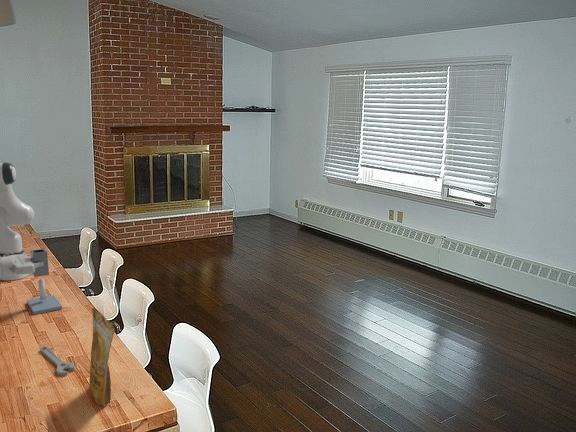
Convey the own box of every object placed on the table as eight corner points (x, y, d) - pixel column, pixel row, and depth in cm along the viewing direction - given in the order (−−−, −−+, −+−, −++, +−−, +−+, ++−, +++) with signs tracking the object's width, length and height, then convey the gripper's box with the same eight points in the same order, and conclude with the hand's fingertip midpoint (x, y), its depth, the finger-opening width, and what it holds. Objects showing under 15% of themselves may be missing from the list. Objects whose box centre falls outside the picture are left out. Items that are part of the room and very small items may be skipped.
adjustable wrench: (39, 351, 210) (38, 347, 210) (56, 347, 214) (56, 342, 214) (59, 377, 191) (59, 373, 191) (78, 372, 195) (77, 367, 195)
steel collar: (32, 273, 250) (30, 250, 248) (46, 271, 254) (44, 248, 251) (34, 277, 246) (32, 253, 243) (49, 274, 249) (47, 251, 246)
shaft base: (26, 303, 255) (24, 277, 252) (54, 297, 261) (52, 273, 258) (33, 314, 242) (31, 288, 239) (62, 309, 249) (60, 283, 246)
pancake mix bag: (106, 378, 191) (101, 304, 184) (119, 406, 175) (115, 325, 168) (86, 383, 187) (81, 307, 181) (98, 411, 171) (92, 329, 165)
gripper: (11, 265, 232) (46, 260, 240) (3, 253, 248) (36, 249, 256) (12, 279, 233) (47, 274, 241) (5, 266, 250) (37, 262, 257)
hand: (41, 261), depth 249 cm, fingers closed on steel collar, 6 cm apart
